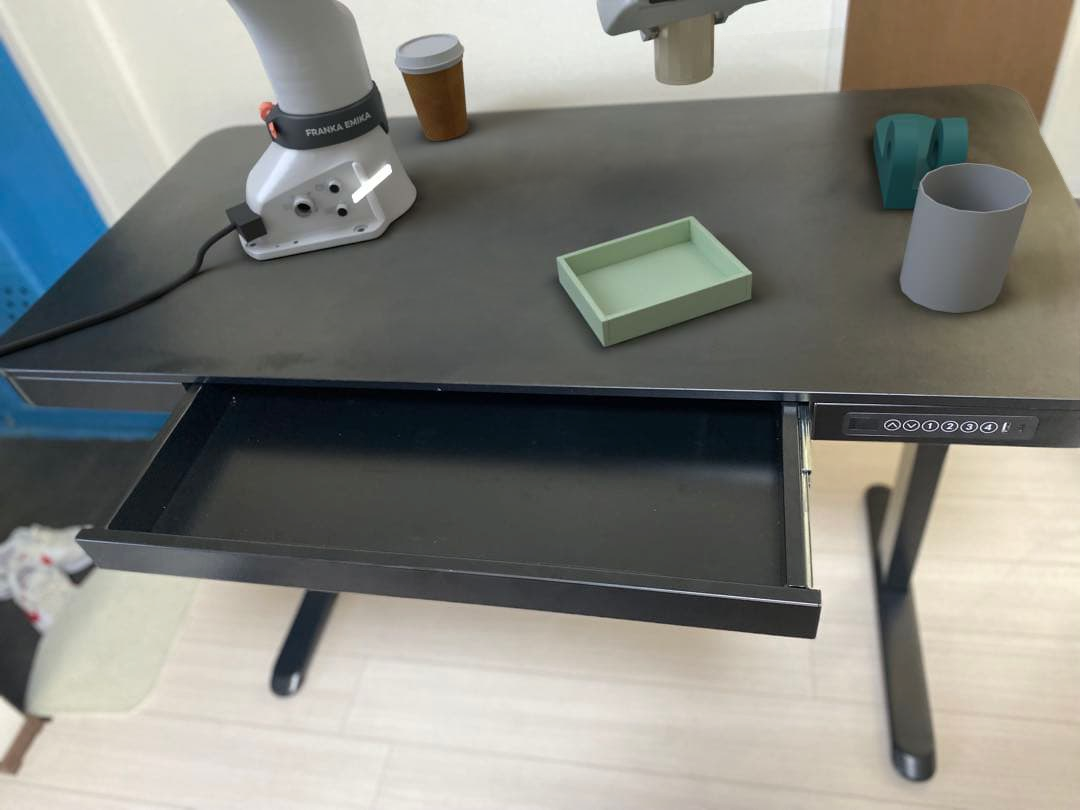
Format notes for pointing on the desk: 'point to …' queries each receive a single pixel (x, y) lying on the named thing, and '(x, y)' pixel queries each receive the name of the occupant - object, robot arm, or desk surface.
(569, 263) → the tray
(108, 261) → the desk surface
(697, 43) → the tumbler
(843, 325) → the desk surface
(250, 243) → the robot arm
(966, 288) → the cup
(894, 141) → the bracket
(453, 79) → the disposable coffee cup
